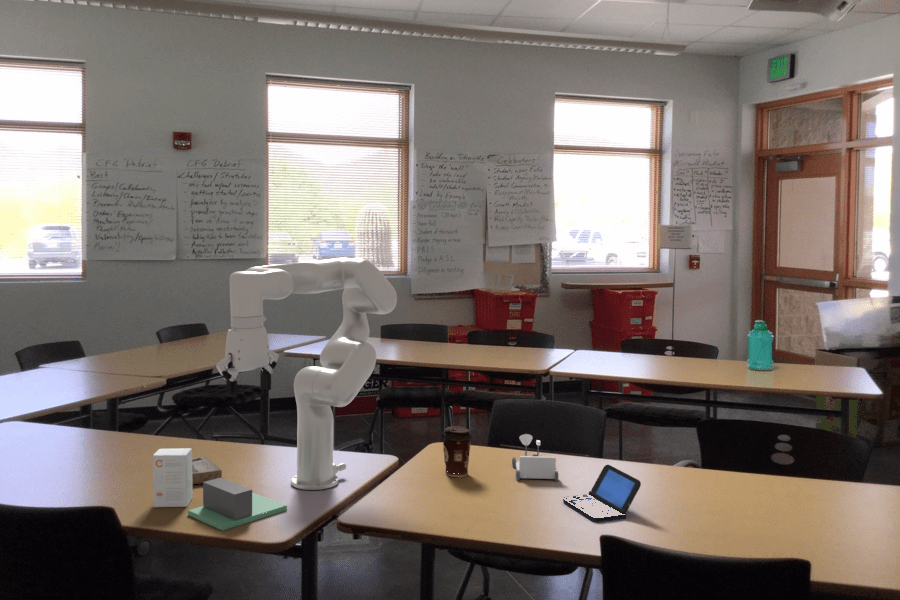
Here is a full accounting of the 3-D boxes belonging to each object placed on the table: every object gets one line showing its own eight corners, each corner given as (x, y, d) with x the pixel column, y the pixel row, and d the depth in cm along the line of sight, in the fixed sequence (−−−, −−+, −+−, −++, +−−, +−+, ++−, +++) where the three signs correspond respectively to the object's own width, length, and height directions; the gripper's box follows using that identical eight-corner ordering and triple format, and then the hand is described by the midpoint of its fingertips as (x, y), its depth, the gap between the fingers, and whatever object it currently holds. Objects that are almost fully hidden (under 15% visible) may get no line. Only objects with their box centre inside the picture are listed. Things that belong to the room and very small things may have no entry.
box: (181, 486, 202) (182, 475, 202) (167, 470, 217) (167, 459, 217) (223, 481, 208) (223, 470, 208) (206, 466, 223) (206, 455, 223)
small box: (193, 498, 194) (192, 447, 193) (186, 507, 188) (186, 454, 187) (159, 498, 194) (159, 447, 193) (152, 507, 187) (152, 455, 186)
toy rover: (512, 431, 232) (550, 432, 232) (511, 463, 233) (549, 464, 233) (517, 447, 214) (559, 448, 214) (516, 482, 215) (558, 483, 215)
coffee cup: (437, 476, 217) (438, 431, 216) (444, 468, 225) (445, 424, 224) (467, 479, 215) (468, 433, 214) (474, 471, 223) (475, 426, 222)
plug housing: (220, 501, 189) (220, 477, 188) (252, 514, 181) (252, 489, 180) (203, 506, 185) (203, 482, 185) (234, 520, 177) (234, 494, 177)
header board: (252, 496, 197) (252, 480, 196) (286, 510, 188) (286, 493, 187) (188, 515, 183) (188, 497, 183) (222, 530, 174) (222, 512, 174)
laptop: (560, 502, 199) (562, 467, 198) (605, 497, 204) (606, 462, 203) (594, 524, 184) (595, 486, 183) (641, 518, 189) (642, 480, 188)
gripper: (267, 317, 195) (269, 384, 197) (206, 325, 181) (209, 397, 183) (286, 320, 190) (288, 388, 192) (225, 328, 177) (228, 402, 179)
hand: (249, 392), depth 188 cm, fingers open, 9 cm apart
